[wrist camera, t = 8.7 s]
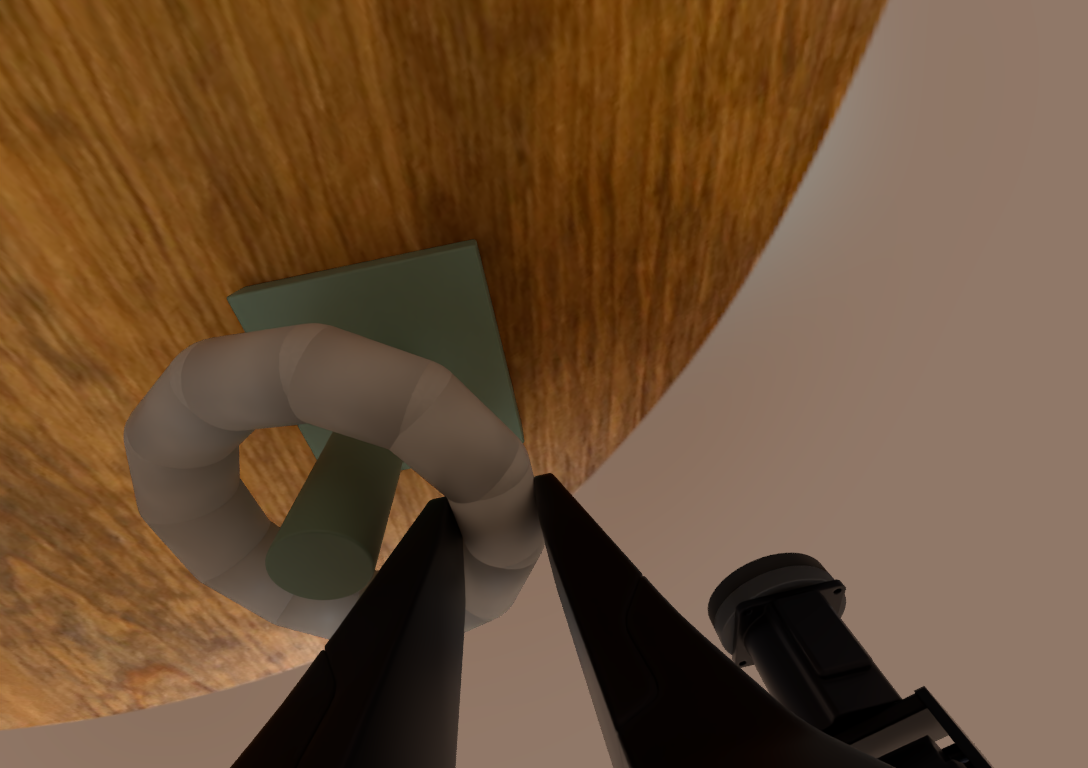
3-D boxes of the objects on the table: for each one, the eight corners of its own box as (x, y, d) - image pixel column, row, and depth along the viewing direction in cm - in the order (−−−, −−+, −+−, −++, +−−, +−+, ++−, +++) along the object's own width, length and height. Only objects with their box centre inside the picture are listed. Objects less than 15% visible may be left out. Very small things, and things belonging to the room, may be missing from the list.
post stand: (522, 427, 18) (553, 637, 10) (339, 467, 18) (226, 714, 10) (475, 238, 15) (467, 339, 7) (243, 286, 14) (-64, 454, 6)
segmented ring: (569, 590, 12) (567, 659, 10) (288, 600, 13) (249, 662, 12) (497, 281, 8) (474, 318, 6) (94, 344, 9) (-8, 388, 7)
